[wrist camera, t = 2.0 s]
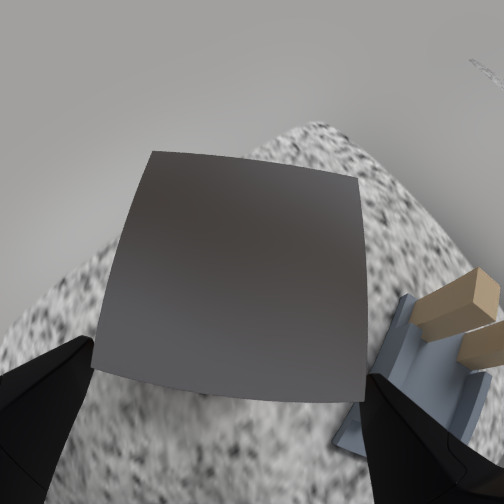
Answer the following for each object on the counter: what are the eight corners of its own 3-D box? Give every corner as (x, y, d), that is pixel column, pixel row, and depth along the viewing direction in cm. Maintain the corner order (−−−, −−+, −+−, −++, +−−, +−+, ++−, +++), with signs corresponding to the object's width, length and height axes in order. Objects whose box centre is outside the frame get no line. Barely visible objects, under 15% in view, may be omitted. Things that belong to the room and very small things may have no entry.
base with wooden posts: (426, 475, 14) (494, 494, 6) (331, 442, 15) (392, 474, 8) (477, 349, 18) (543, 327, 11) (401, 297, 20) (468, 255, 13)
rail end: (265, 382, 17) (364, 401, 4) (189, 373, 17) (90, 367, 4) (272, 311, 19) (357, 178, 6) (200, 301, 19) (152, 150, 6)
